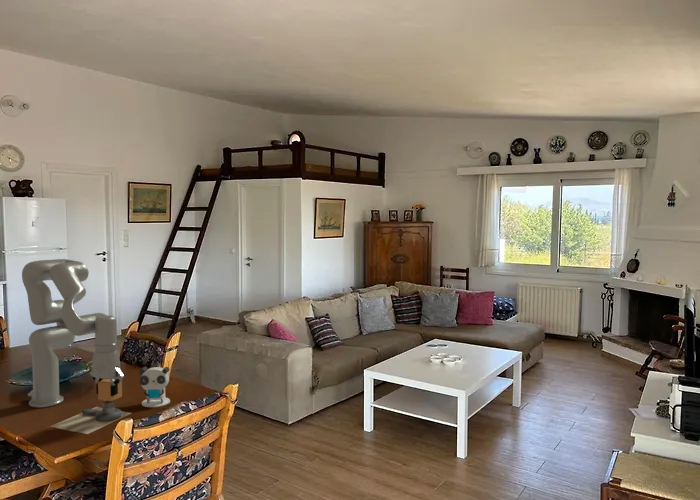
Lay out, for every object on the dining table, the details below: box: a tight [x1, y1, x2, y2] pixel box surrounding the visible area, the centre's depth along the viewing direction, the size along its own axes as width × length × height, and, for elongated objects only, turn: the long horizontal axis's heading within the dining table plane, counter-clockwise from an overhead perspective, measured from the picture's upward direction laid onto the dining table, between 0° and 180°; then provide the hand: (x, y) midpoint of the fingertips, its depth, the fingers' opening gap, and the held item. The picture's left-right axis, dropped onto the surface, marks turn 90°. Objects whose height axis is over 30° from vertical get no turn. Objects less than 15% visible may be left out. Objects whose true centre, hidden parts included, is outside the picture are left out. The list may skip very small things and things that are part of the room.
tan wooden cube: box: [97, 379, 123, 402], centre depth 206 cm, size 6×6×7 cm
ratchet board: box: [49, 400, 132, 435], centre depth 203 cm, size 18×22×8 cm
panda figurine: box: [138, 366, 171, 408], centre depth 225 cm, size 12×11×15 cm
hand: (107, 393), depth 205 cm, fingers closed on tan wooden cube, 6 cm apart
